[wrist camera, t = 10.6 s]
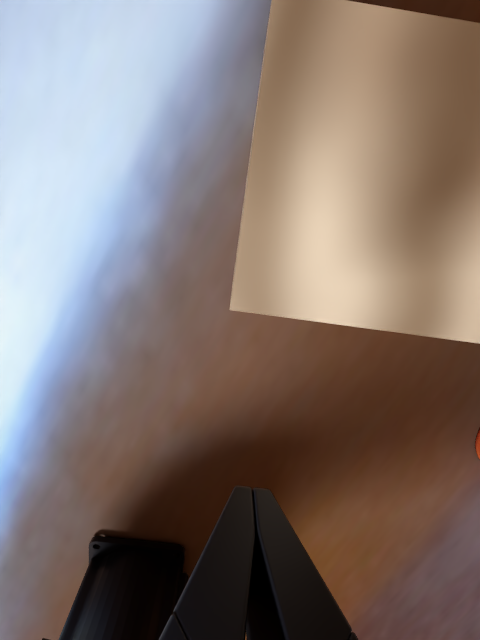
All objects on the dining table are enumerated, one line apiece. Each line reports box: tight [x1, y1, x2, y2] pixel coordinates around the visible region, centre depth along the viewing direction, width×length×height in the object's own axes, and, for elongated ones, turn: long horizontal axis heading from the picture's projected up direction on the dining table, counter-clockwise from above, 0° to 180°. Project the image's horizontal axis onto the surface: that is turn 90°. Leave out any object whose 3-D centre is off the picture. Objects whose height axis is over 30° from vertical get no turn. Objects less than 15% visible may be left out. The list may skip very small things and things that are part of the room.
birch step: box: [230, 0, 480, 344], centre depth 16 cm, size 14×11×4 cm
